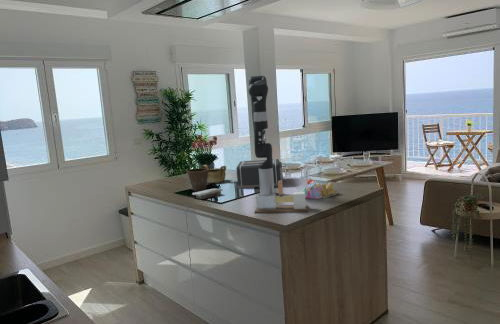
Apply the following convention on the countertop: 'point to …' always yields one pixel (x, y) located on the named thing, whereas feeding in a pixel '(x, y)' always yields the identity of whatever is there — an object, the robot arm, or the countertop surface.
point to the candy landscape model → (318, 190)
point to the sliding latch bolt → (281, 197)
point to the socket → (299, 200)
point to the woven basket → (215, 174)
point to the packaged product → (207, 193)
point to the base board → (282, 209)
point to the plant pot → (198, 178)
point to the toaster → (256, 173)
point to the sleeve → (266, 202)
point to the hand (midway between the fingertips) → (262, 149)
